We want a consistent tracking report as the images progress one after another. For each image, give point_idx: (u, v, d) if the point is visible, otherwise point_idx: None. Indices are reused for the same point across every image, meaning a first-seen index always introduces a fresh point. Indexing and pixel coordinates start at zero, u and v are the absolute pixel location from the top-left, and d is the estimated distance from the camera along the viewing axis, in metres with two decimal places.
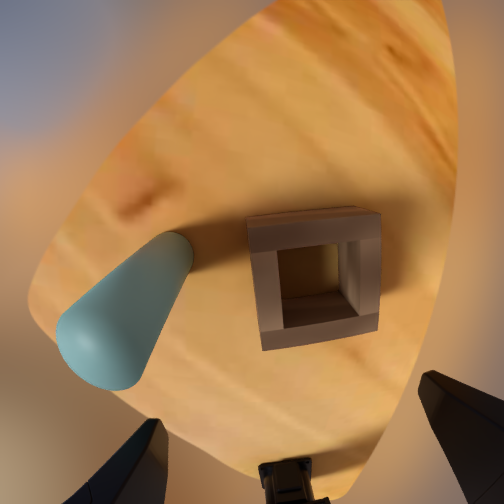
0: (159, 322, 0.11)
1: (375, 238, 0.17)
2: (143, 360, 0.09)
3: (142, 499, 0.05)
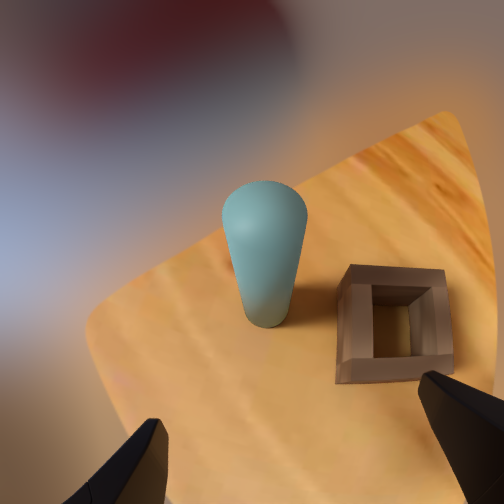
0: None
1: (443, 287, 0.19)
2: (306, 223, 0.12)
3: (142, 499, 0.05)
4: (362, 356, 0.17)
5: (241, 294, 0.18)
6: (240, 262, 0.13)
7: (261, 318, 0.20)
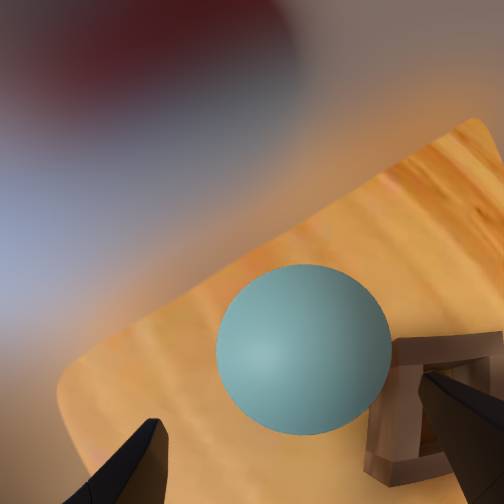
0: None
1: (500, 354, 0.12)
2: (389, 365, 0.05)
3: (142, 499, 0.05)
4: (406, 458, 0.10)
5: None
6: None
7: None
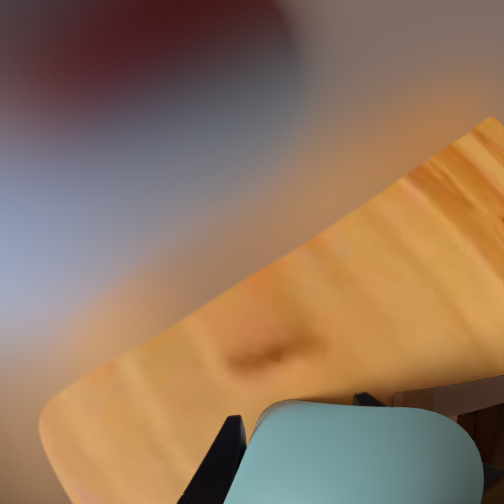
0: None
1: None
2: None
3: None
4: None
5: None
6: None
7: None
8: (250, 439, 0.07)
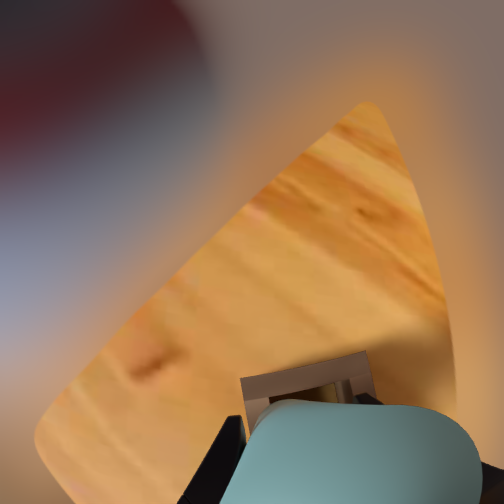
0: None
1: (365, 374, 0.17)
2: None
3: None
4: None
5: None
6: None
7: None
8: (249, 438, 0.07)
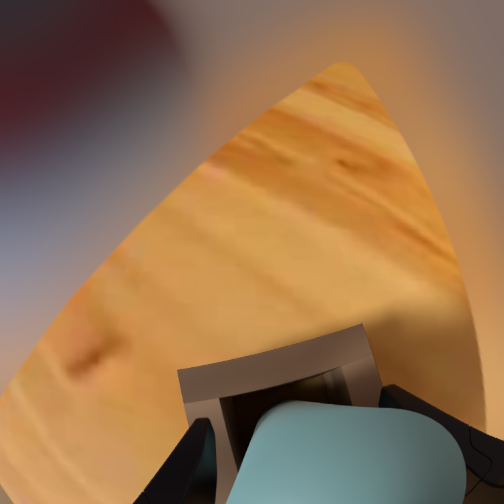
0: None
1: (364, 358, 0.11)
2: None
3: (200, 503, 0.05)
4: None
5: None
6: None
7: None
8: None
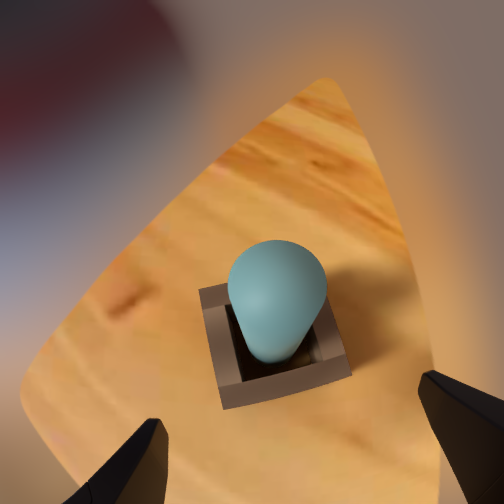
0: None
1: None
2: (325, 296, 0.10)
3: (142, 499, 0.05)
4: (229, 383, 0.17)
5: None
6: (249, 333, 0.12)
7: (267, 363, 0.19)
8: None
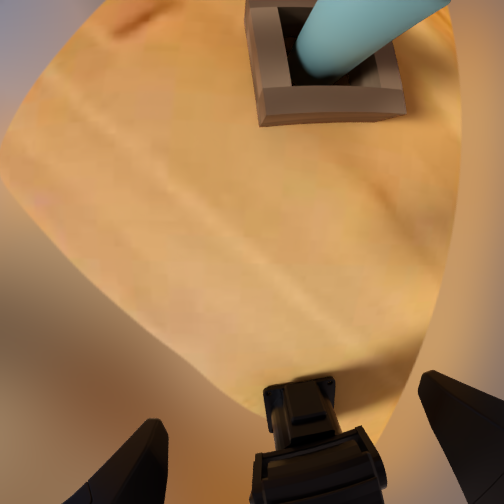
0: None
1: None
2: None
3: (142, 499, 0.05)
4: (276, 85, 0.13)
5: (307, 44, 0.12)
6: (355, 2, 0.06)
7: (315, 77, 0.14)
8: None
